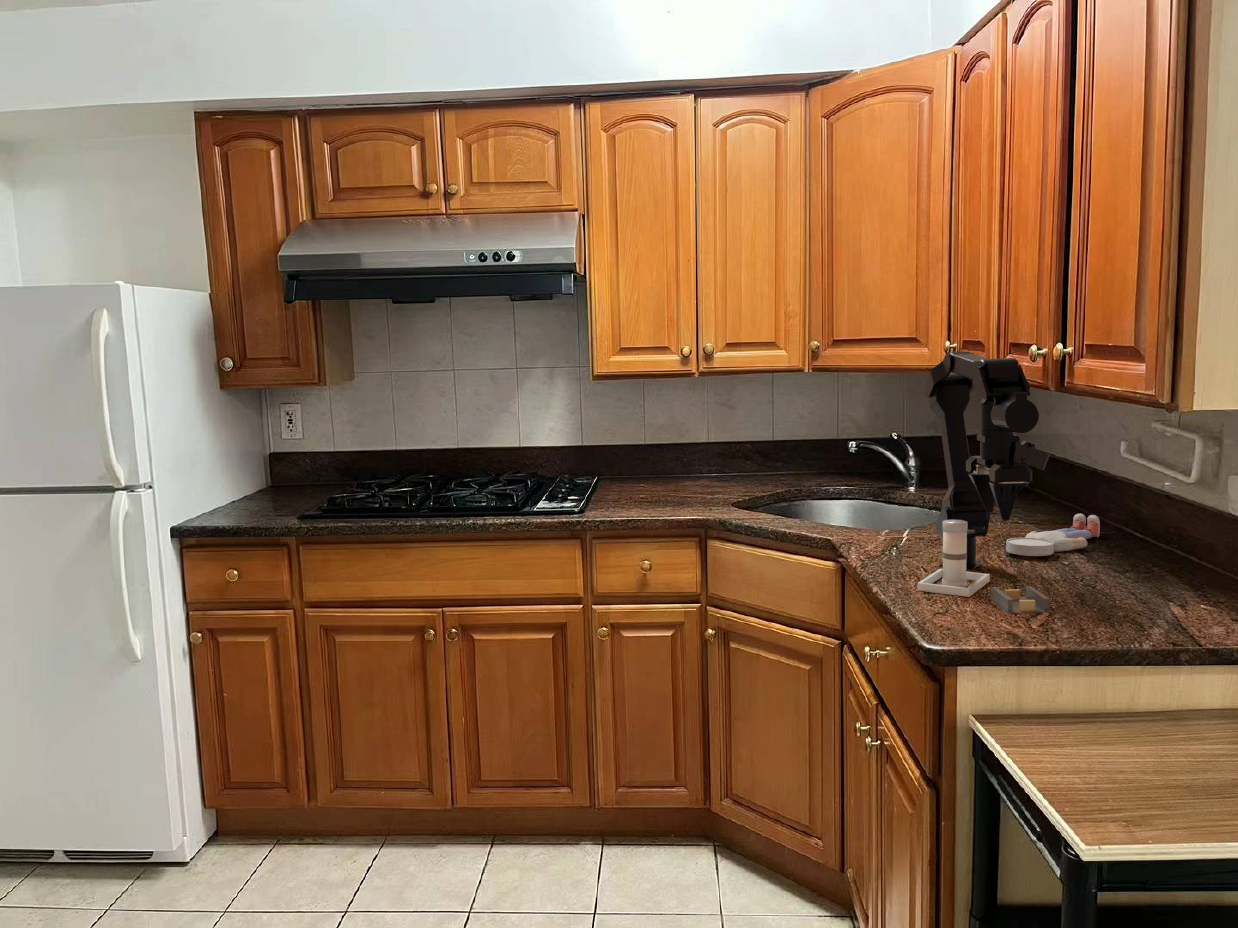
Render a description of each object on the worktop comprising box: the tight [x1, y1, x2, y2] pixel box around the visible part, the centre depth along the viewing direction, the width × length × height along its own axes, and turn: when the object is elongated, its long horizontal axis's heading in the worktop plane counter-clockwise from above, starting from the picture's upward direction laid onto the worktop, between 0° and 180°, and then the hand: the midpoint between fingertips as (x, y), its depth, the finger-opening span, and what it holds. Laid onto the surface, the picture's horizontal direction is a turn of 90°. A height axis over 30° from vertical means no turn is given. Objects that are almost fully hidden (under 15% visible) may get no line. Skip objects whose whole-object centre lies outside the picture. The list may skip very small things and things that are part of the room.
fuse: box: [941, 520, 968, 588], centre depth 173 cm, size 4×4×12 cm
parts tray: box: [916, 568, 991, 598], centre depth 173 cm, size 12×9×2 cm
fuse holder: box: [988, 585, 1053, 614], centre depth 160 cm, size 9×7×3 cm
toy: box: [1005, 513, 1101, 557], centre depth 205 cm, size 6×13×30 cm
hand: (997, 516), depth 173 cm, fingers open, 9 cm apart
